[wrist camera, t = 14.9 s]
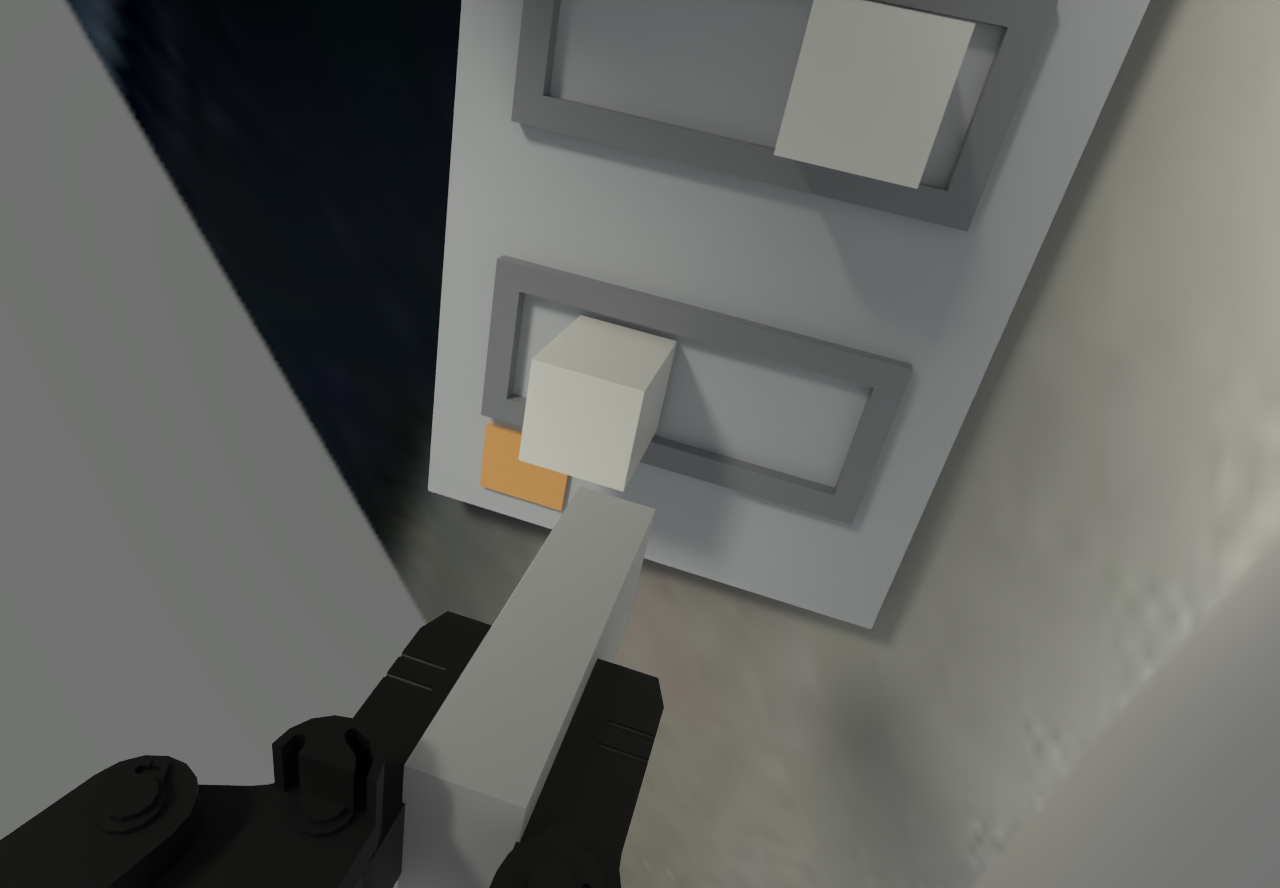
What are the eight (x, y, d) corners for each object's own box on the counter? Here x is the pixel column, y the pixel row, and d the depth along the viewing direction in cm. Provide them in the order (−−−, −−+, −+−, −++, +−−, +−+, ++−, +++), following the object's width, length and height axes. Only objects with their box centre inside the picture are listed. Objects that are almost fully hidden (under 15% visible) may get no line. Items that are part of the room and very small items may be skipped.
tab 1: (566, 403, 24) (518, 460, 21) (580, 314, 23) (531, 359, 19) (657, 429, 24) (623, 492, 20) (677, 341, 23) (644, 391, 19)
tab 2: (788, 138, 19) (773, 155, 16) (823, 5, 18) (816, -10, 15) (906, 166, 19) (917, 189, 16) (952, 32, 18) (975, 24, 14)
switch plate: (447, 471, 29) (421, 497, 27) (510, -306, 18) (475, -345, 17) (870, 601, 27) (871, 639, 25) (1213, -191, 16) (1255, -221, 15)
